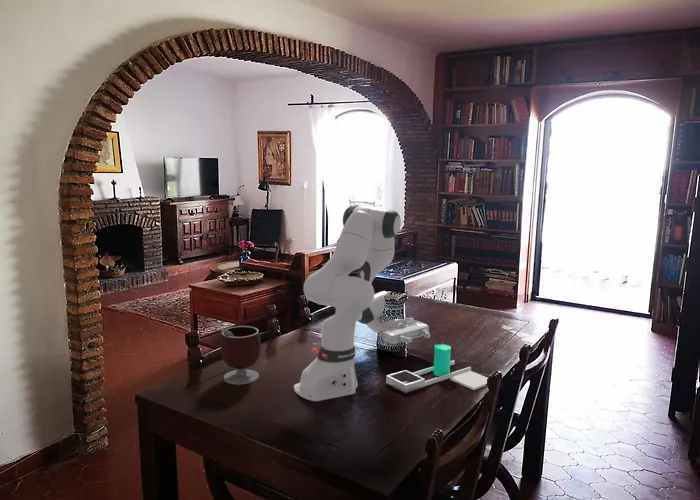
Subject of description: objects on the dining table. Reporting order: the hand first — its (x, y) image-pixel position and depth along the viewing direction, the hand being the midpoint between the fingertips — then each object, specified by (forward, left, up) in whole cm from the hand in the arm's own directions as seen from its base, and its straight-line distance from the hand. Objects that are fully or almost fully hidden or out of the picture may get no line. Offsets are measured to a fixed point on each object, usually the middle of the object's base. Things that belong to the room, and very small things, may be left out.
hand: (419, 338), depth 208 cm
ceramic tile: (+4, -23, -10) cm, 26 cm away
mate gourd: (-62, +27, -10) cm, 69 cm away
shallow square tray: (-18, -12, -10) cm, 24 cm away
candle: (0, -12, -10) cm, 16 cm away
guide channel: (-1, -12, -10) cm, 16 cm away
